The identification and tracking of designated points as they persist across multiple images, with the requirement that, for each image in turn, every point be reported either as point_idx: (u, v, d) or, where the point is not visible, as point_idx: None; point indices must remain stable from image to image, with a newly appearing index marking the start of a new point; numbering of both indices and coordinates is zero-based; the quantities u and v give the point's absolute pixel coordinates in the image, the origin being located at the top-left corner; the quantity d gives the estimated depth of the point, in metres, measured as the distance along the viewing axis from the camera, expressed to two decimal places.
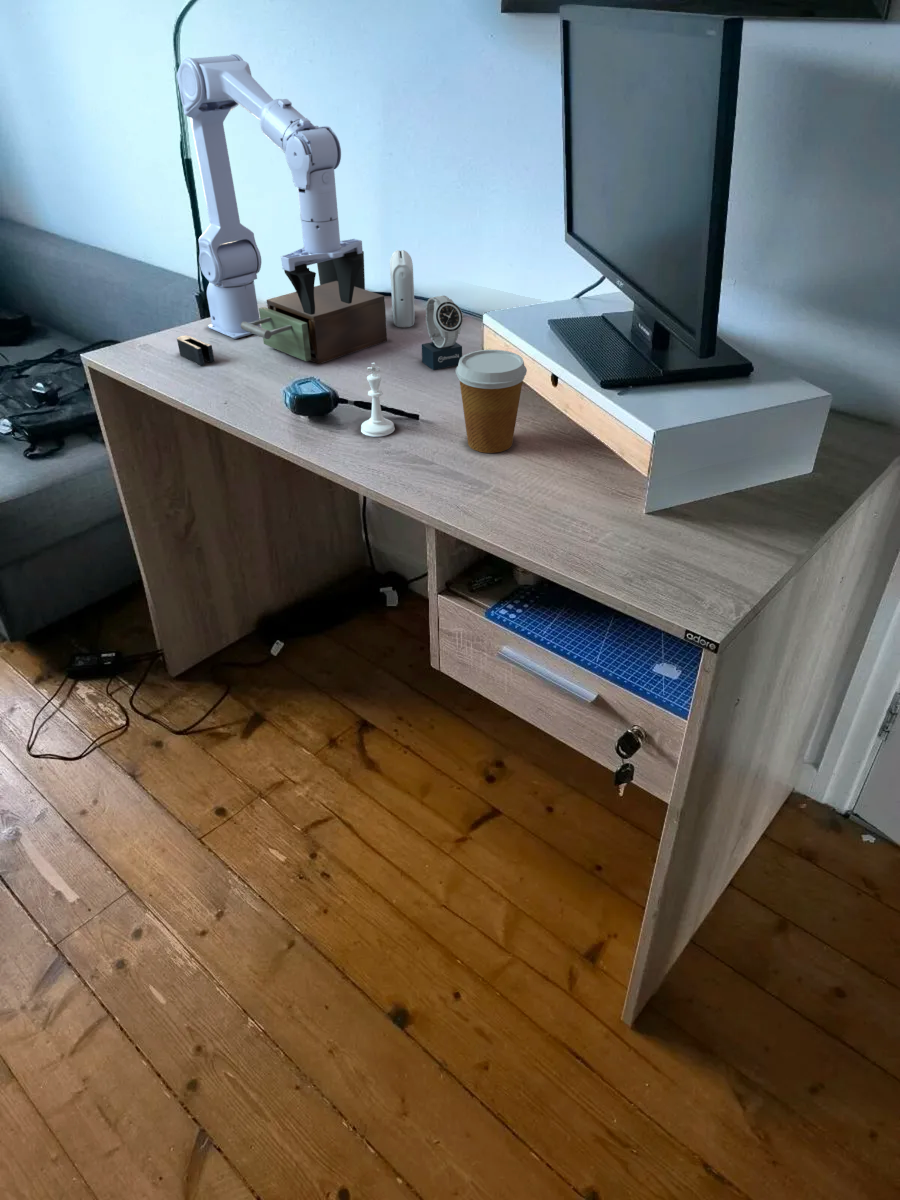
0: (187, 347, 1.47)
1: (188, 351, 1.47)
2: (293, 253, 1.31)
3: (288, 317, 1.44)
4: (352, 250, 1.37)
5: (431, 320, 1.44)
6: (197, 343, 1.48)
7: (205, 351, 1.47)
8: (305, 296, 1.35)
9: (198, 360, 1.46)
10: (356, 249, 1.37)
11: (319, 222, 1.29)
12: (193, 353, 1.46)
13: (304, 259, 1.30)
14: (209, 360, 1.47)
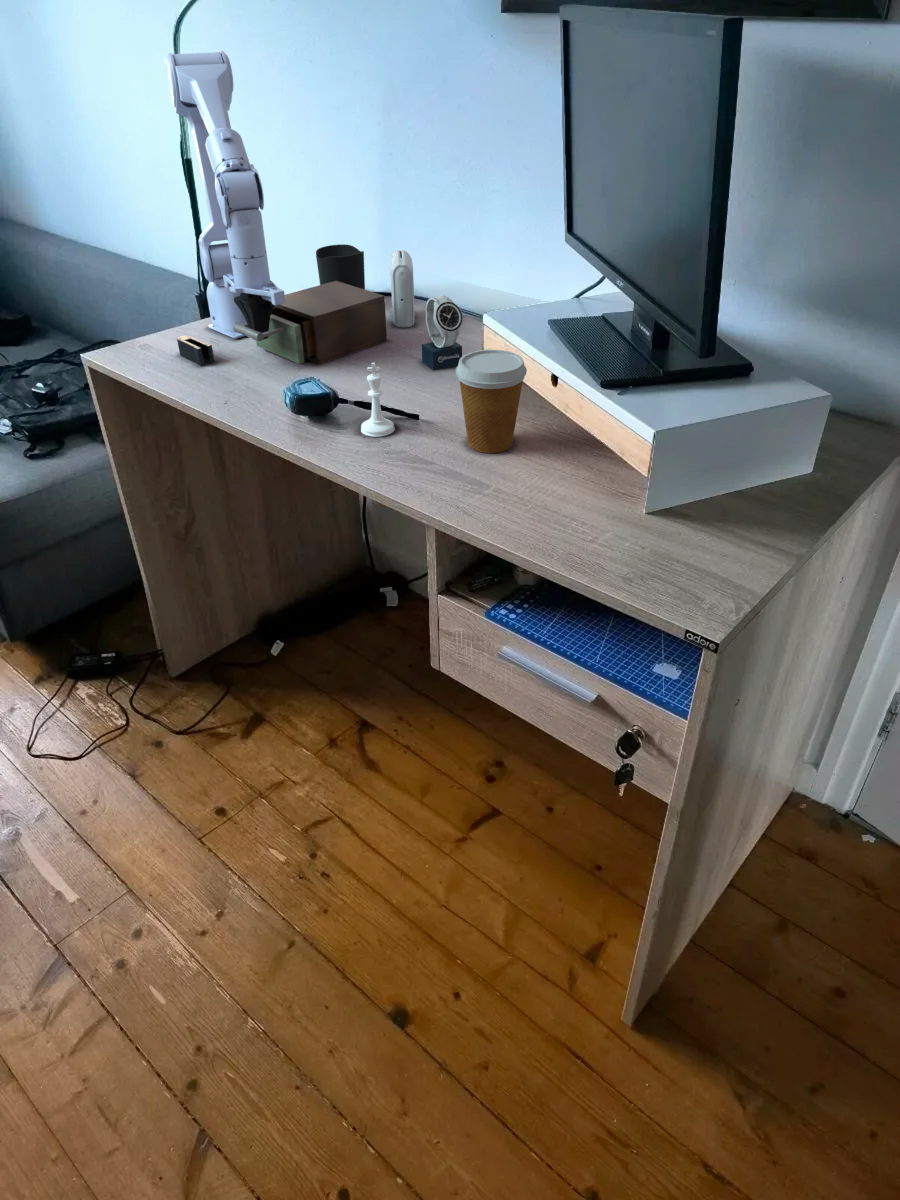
0: (187, 347, 1.47)
1: (188, 351, 1.47)
2: None
3: (281, 319, 1.43)
4: None
5: (431, 320, 1.44)
6: (197, 343, 1.48)
7: (205, 351, 1.47)
8: None
9: (198, 360, 1.46)
10: (272, 299, 1.35)
11: (230, 255, 1.36)
12: (193, 353, 1.46)
13: (229, 282, 1.41)
14: (209, 360, 1.47)
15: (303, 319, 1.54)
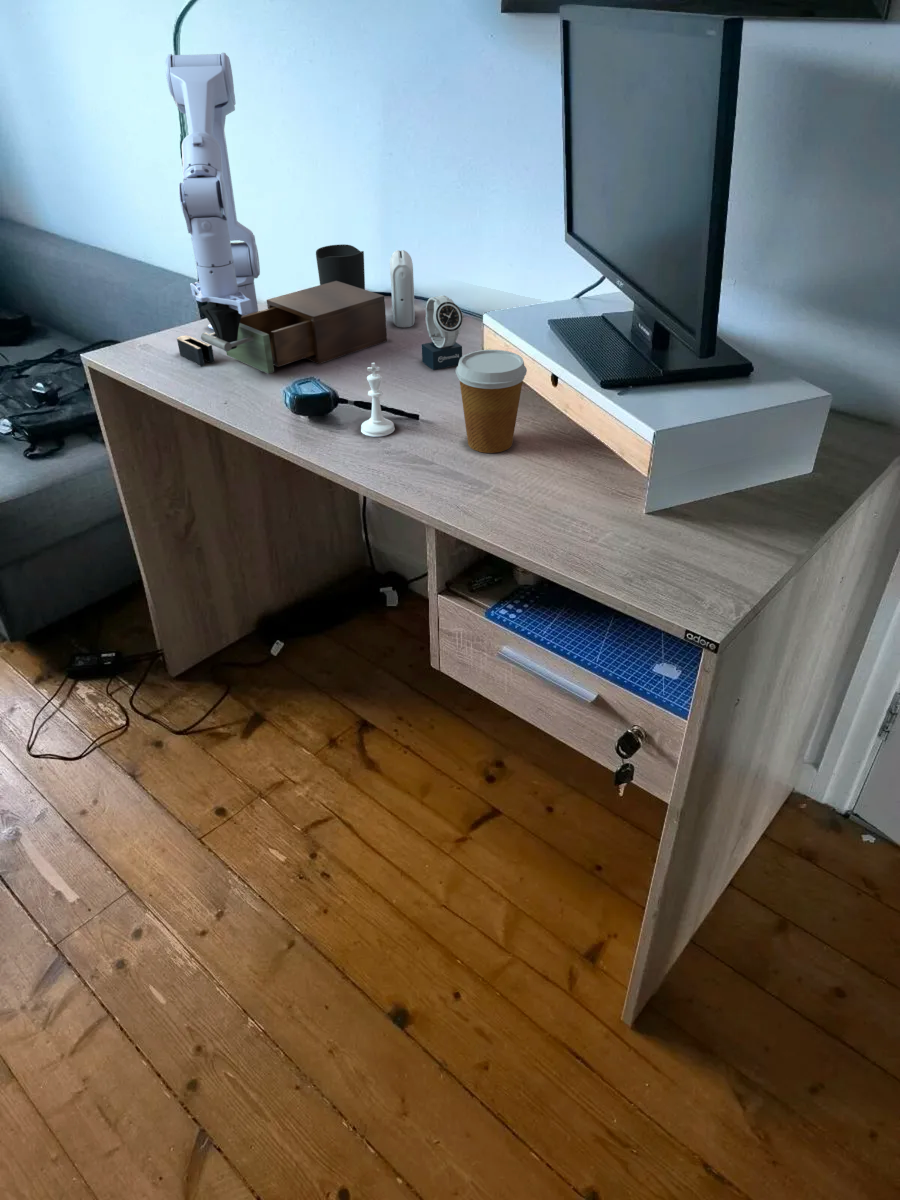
0: (187, 347, 1.47)
1: (188, 351, 1.47)
2: None
3: (250, 328, 1.40)
4: None
5: (431, 320, 1.44)
6: (197, 343, 1.48)
7: (205, 351, 1.47)
8: None
9: (198, 360, 1.46)
10: None
11: (196, 263, 1.32)
12: (193, 353, 1.46)
13: (196, 290, 1.37)
14: (209, 360, 1.47)
15: (275, 327, 1.50)
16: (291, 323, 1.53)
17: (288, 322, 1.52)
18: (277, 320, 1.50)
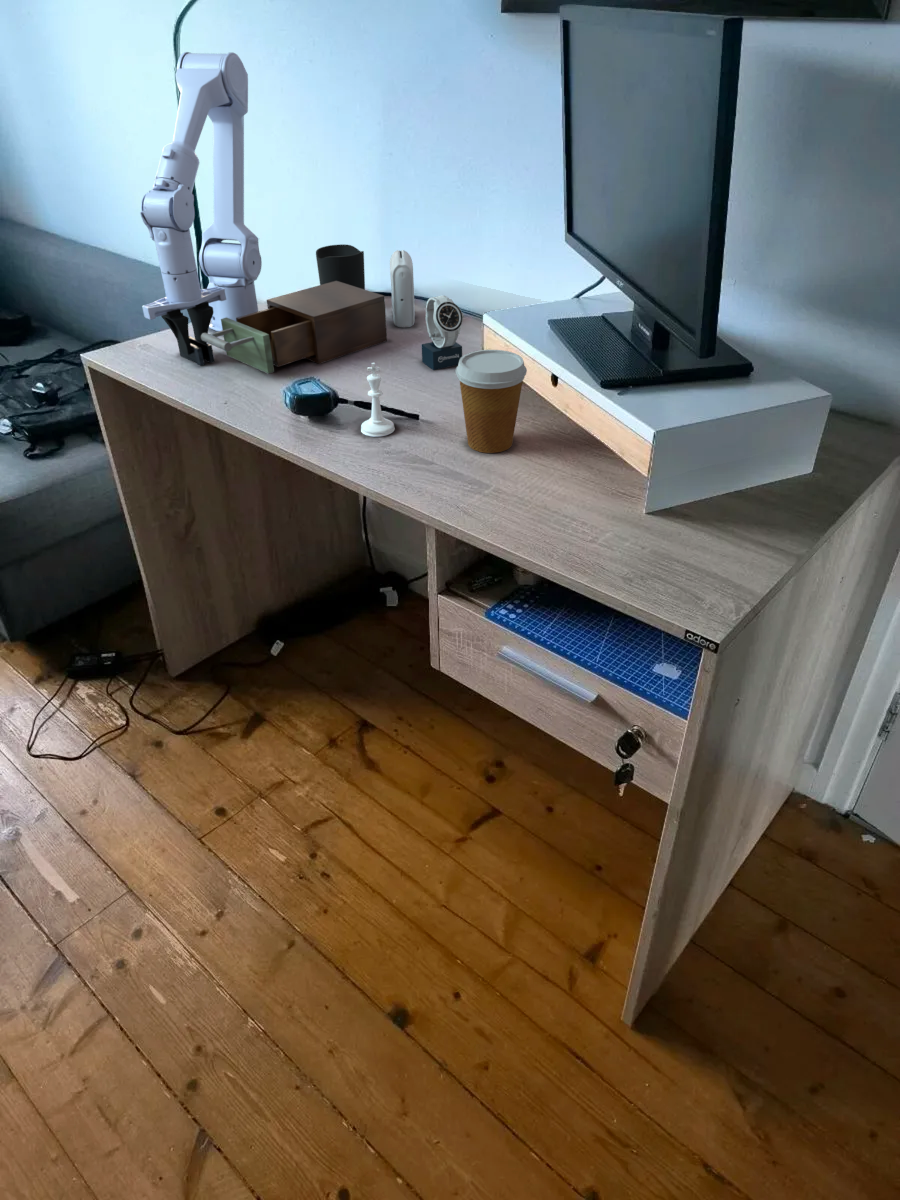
0: None
1: None
2: (212, 292, 1.45)
3: (250, 328, 1.40)
4: None
5: (431, 320, 1.44)
6: (197, 343, 1.48)
7: (205, 351, 1.47)
8: None
9: (198, 360, 1.46)
10: None
11: None
12: (193, 353, 1.46)
13: (204, 292, 1.47)
14: (209, 360, 1.47)
15: (275, 327, 1.50)
16: (291, 323, 1.53)
17: (288, 322, 1.52)
18: (277, 320, 1.50)
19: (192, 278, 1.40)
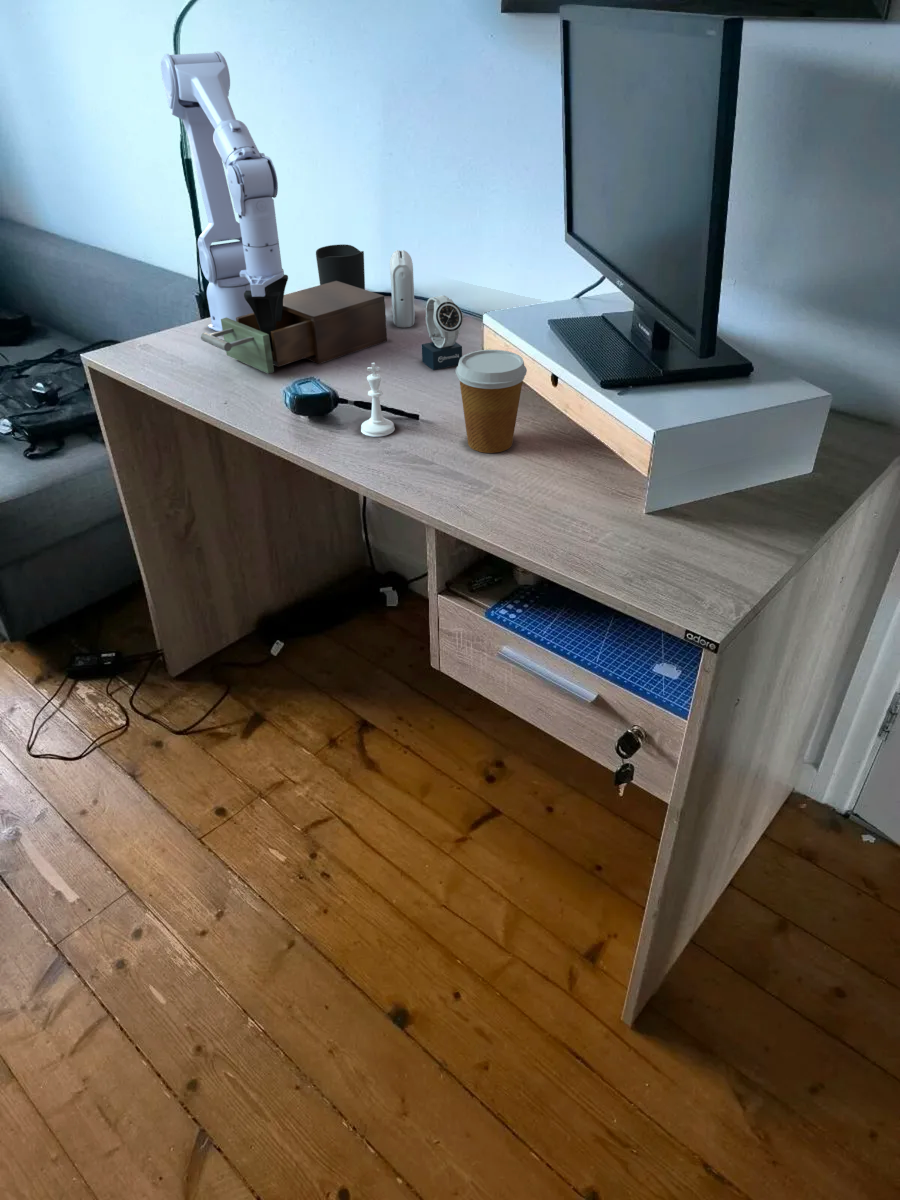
0: (271, 339, 1.44)
1: None
2: None
3: (250, 328, 1.40)
4: None
5: (431, 320, 1.44)
6: None
7: None
8: None
9: None
10: None
11: None
12: None
13: None
14: None
15: None
16: (291, 323, 1.53)
17: (288, 322, 1.52)
18: None
19: (279, 248, 1.38)
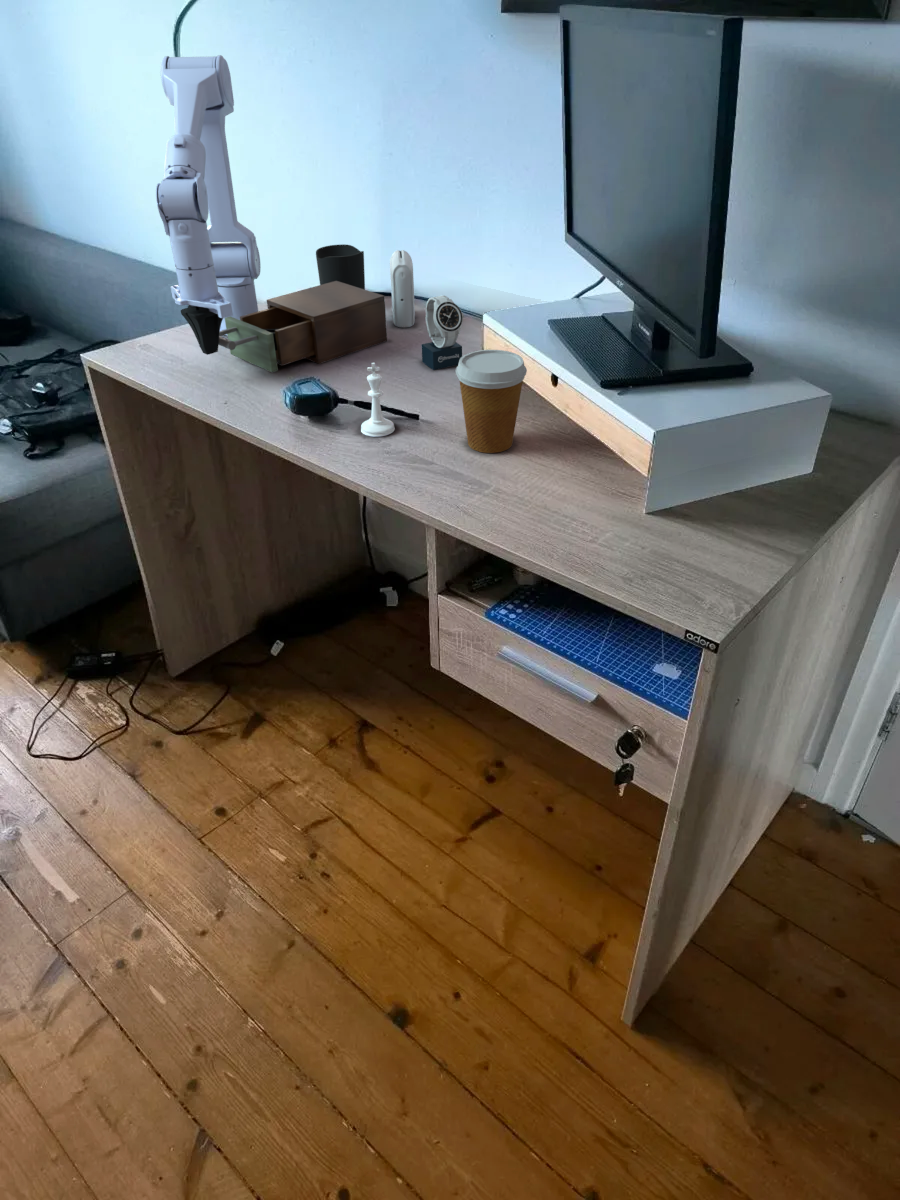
0: (275, 337, 1.45)
1: None
2: None
3: (254, 327, 1.40)
4: None
5: (431, 320, 1.44)
6: None
7: None
8: None
9: None
10: None
11: (175, 266, 1.30)
12: None
13: (176, 293, 1.35)
14: None
15: (278, 326, 1.51)
16: (294, 322, 1.53)
17: (291, 321, 1.52)
18: (281, 319, 1.51)
19: None
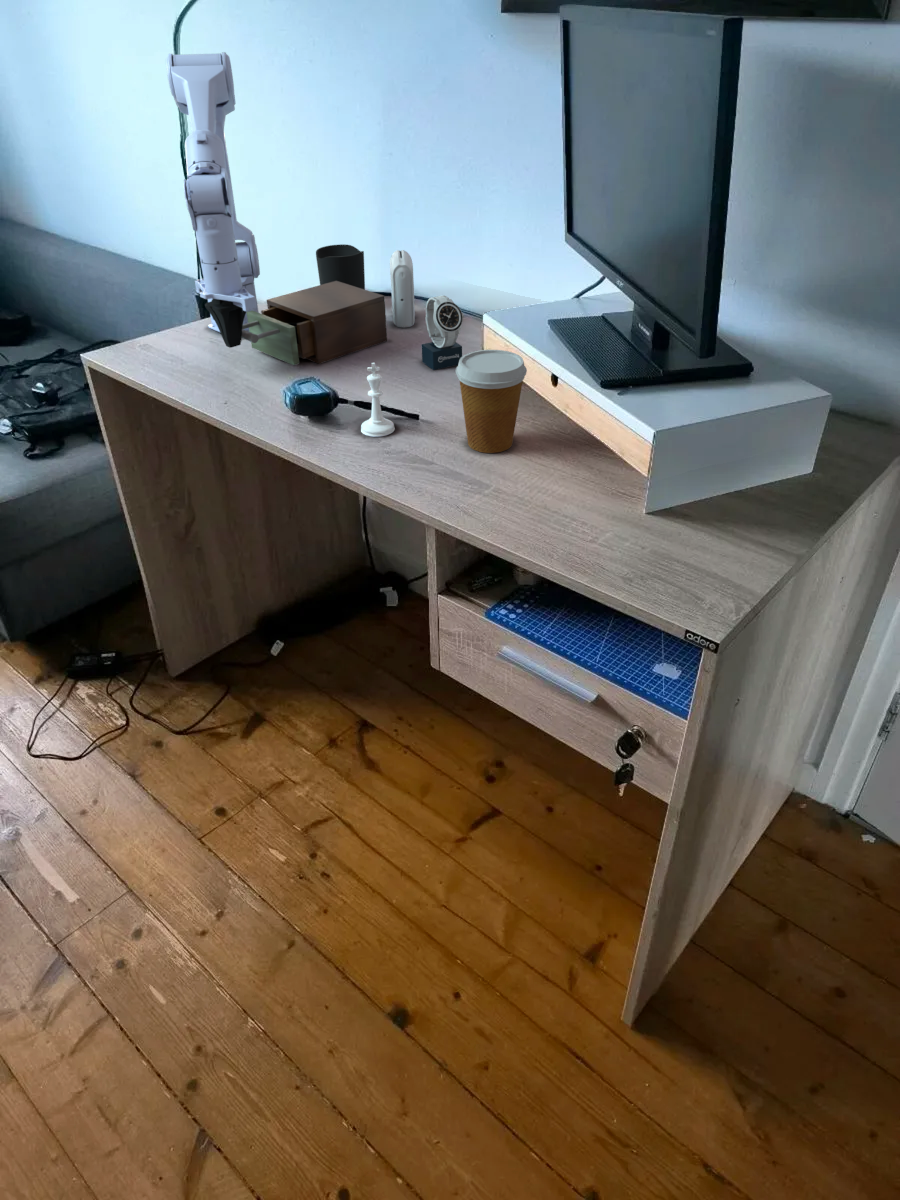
0: (296, 331, 1.47)
1: None
2: None
3: (276, 321, 1.43)
4: None
5: (431, 320, 1.44)
6: None
7: None
8: None
9: None
10: None
11: None
12: None
13: (200, 287, 1.37)
14: None
15: (298, 320, 1.53)
16: None
17: None
18: None
19: None
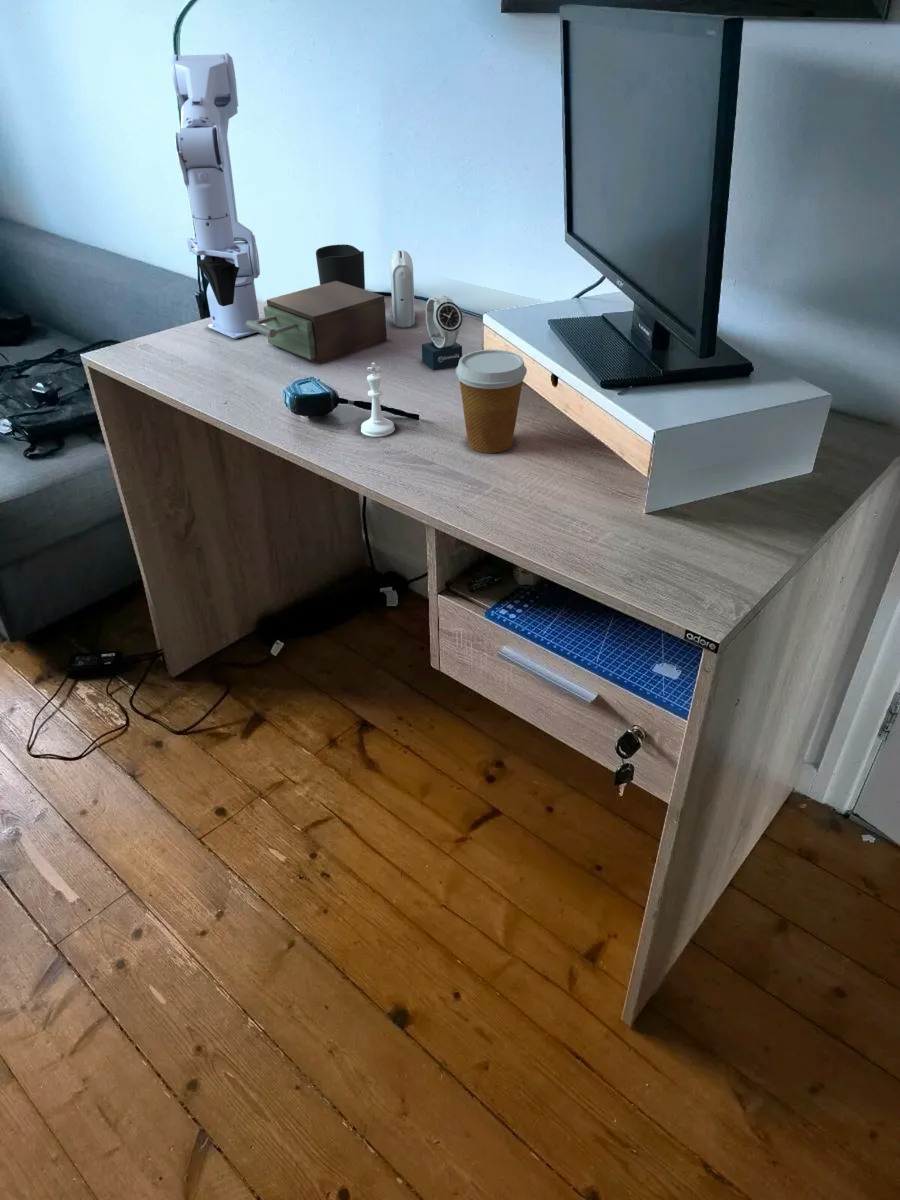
0: None
1: None
2: None
3: (293, 316, 1.45)
4: None
5: (431, 320, 1.44)
6: None
7: None
8: None
9: None
10: (235, 261, 1.31)
11: (192, 216, 1.32)
12: None
13: (192, 245, 1.37)
14: None
15: None
16: None
17: None
18: None
19: None
